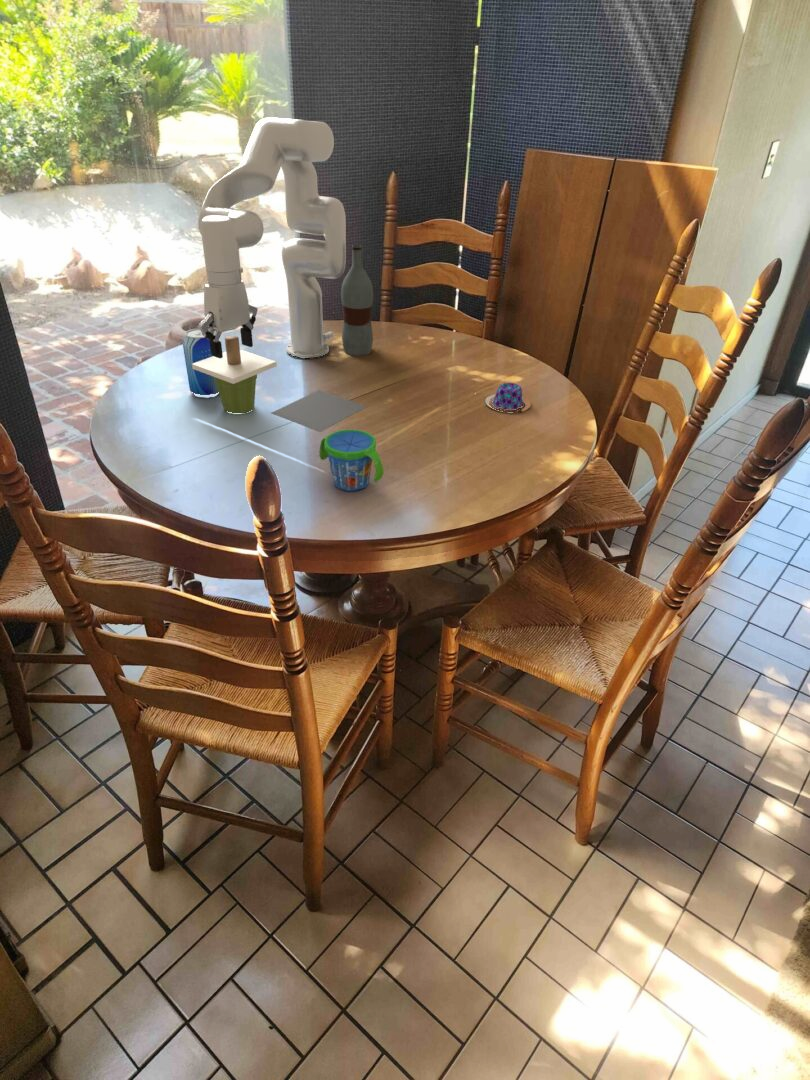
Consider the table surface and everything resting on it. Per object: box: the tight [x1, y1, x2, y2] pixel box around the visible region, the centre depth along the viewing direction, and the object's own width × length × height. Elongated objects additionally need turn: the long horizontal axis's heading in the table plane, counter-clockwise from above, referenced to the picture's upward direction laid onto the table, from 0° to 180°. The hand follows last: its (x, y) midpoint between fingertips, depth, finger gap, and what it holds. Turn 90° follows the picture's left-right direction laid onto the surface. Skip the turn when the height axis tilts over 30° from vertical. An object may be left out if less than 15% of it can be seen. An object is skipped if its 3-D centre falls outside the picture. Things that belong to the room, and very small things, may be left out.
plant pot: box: [214, 374, 258, 414], centre depth 172 cm, size 12×12×11 cm
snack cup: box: [318, 429, 384, 492], centre depth 146 cm, size 16×10×10 cm
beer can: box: [182, 327, 219, 395], centre depth 179 cm, size 8×8×16 cm
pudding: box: [485, 382, 524, 414], centre depth 182 cm, size 12×12×5 cm
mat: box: [271, 389, 368, 432], centre depth 176 cm, size 18×16×1 cm
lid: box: [192, 335, 277, 384], centre depth 167 cm, size 14×14×7 cm
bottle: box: [340, 244, 374, 357], centre depth 202 cm, size 9×9×30 cm
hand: (232, 351), depth 167 cm, fingers open, 9 cm apart
